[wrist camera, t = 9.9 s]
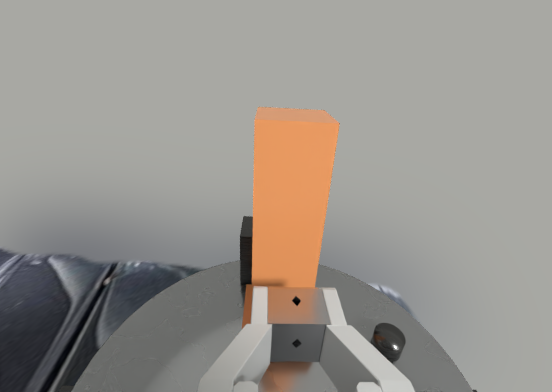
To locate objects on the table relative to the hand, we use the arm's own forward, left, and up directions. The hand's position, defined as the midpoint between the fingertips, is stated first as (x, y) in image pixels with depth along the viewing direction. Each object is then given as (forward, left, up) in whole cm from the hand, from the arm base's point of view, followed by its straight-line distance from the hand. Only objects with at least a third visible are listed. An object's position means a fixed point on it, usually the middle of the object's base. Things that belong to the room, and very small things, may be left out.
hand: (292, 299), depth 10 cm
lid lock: (-3, +3, -6) cm, 7 cm away
